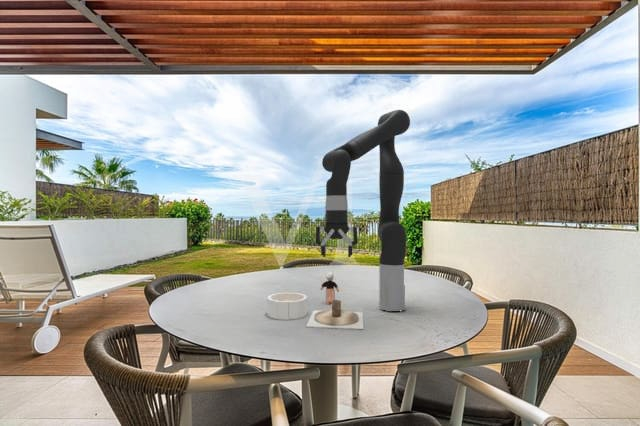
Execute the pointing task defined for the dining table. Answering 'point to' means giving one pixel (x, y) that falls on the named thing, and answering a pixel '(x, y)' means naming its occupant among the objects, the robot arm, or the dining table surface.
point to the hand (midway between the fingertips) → (336, 256)
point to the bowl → (287, 306)
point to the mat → (314, 324)
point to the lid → (336, 316)
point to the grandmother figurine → (330, 288)
